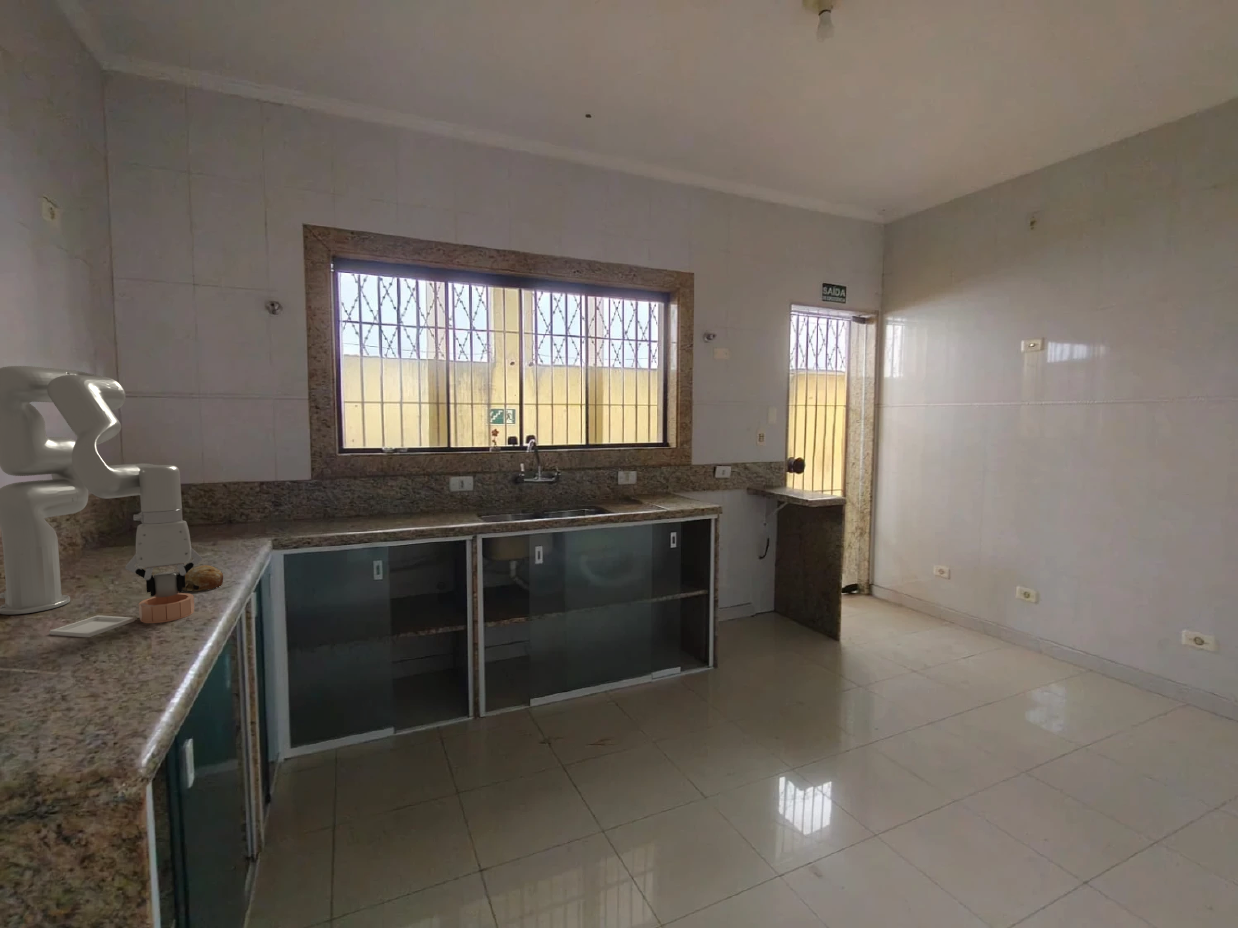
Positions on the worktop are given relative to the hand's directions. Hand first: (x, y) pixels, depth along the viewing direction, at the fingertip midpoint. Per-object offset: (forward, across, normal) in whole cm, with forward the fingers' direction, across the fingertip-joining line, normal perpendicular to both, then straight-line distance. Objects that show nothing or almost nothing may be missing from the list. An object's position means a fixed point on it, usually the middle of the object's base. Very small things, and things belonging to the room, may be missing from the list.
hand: (166, 592), depth 135 cm
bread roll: (+6, +7, +26) cm, 28 cm away
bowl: (+6, 0, 0) cm, 6 cm away
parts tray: (+6, -13, 0) cm, 15 cm away
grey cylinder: (+1, 0, 0) cm, 1 cm away
